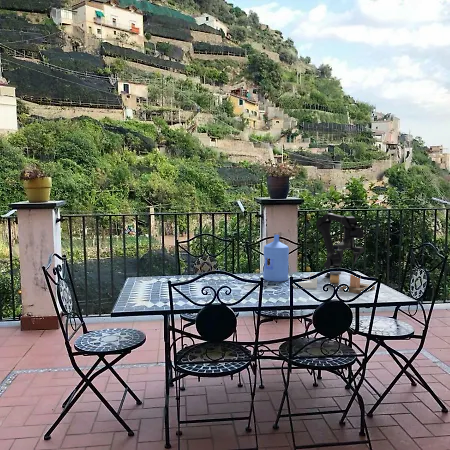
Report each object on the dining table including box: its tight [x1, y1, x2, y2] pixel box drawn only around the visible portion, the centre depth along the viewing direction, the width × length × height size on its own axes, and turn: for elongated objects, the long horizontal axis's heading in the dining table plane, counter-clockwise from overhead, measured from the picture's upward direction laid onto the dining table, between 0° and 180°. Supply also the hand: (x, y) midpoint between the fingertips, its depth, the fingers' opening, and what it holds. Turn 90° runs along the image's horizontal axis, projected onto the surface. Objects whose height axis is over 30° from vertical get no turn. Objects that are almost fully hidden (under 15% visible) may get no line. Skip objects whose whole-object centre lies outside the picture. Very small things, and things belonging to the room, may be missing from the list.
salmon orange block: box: [349, 274, 361, 288], centre depth 246 cm, size 4×4×8 cm
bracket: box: [293, 272, 318, 289], centre depth 250 cm, size 13×7×8 cm, turn 93°
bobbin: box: [329, 271, 342, 287], centre depth 254 cm, size 7×7×8 cm
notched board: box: [340, 282, 376, 295], centre depth 244 cm, size 12×17×2 cm
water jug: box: [262, 234, 290, 283], centre depth 268 cm, size 16×16×28 cm
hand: (347, 262), depth 265 cm, fingers open, 9 cm apart
